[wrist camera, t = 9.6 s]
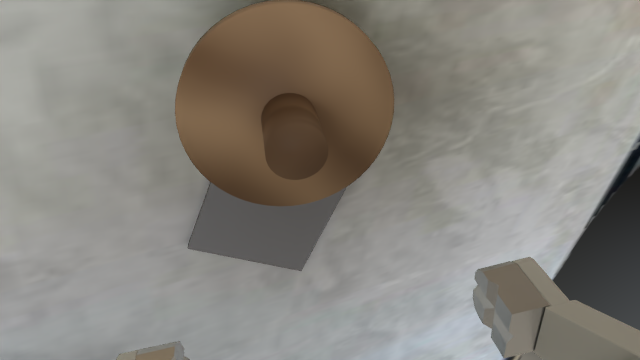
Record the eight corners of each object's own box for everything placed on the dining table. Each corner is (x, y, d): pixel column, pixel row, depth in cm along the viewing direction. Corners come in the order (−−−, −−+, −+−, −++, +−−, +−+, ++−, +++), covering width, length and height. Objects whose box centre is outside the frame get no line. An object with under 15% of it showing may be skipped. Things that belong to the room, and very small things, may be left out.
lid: (323, 219, 27) (337, 270, 24) (146, 154, 23) (129, 206, 19) (428, 66, 23) (466, 100, 19) (233, -50, 18) (232, -35, 15)
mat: (300, 266, 43) (301, 271, 43) (188, 244, 39) (187, 248, 39) (353, 168, 38) (354, 172, 37) (229, 131, 34) (228, 134, 33)
